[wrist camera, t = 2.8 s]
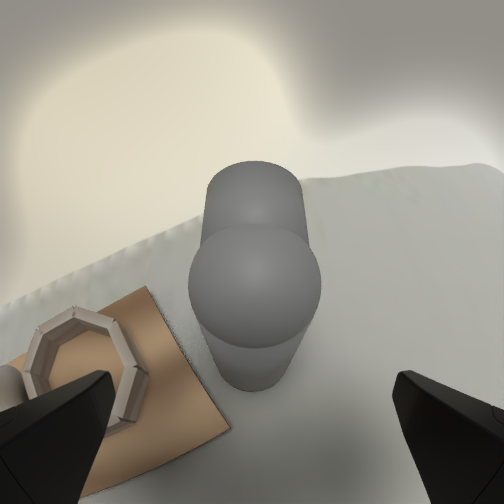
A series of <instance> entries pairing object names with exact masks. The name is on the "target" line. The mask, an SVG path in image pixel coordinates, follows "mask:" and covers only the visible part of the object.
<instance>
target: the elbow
mask: <svg viewBox="0 0 504 504" xmlns="http://www.w3.org/2000/svg"><path fill="white" fill-rule="evenodd" d="M188 290H189V297H190V301H191V305H192V308H193V311H194V313H195V316H196V318H197V321H198V323H199V325H200V328H201V330H202V333H203V335H204V337H205V340H206V342H207V344H208V347H209V349H210V351H211V354H212V356H213V358H214V360H215V363H216V365H217V367H218V369H219V371H220V374H221V375H222V377H223V378H224V379H225V380H226V381H227V382H228V383H229V384H230V385H232V386H233V387H235V388H237V389H240V390H243V391H251V392H254V391H261V390H264V389H267V388H269V387H271V386H273V385H274V384H275V383H277V382H278V381H279V380H280V378H281V377H282V376H283V374H284V372H285V371H286V369H287V367H288V365H289V363H290V361H291V359H292V358H293V356H294V354H295V352H296V350H297V348H298V346H299V344H300V342H301V340H302V338H303V336H304V334H305V332H306V330H307V328H308V326H309V324H310V322H311V320H312V318H313V316H314V314H315V312H316V309H317V307H318V303H319V300H320V295H321V275H320V270H319V266H318V263H317V260H316V258H315V256H314V254H313V252H312V250H311V249H310V247H309V240H308V231H307V224H306V216H305V208H304V201H303V194H302V188H301V185H300V183H299V181H298V180H297V178H296V177H295V176H294V175H293V174H292V173H291V172H289V171H288V170H287V169H285V168H283V167H281V166H279V165H276V164H272V163H269V162H263V161H246V162H240V163H236V164H233V165H231V166H228V167H226V168H224V169H223V170H221V171H220V172H218V173H217V174H216V175H215V176H214V177H213V178H212V180H211V181H210V183H209V185H208V188H207V194H206V202H205V209H204V217H203V226H202V234H201V243H200V248H199V250H198V251H197V253H196V255H195V257H194V259H193V262H192V265H191V268H190V272H189V281H188Z"/></svg>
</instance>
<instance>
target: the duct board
mask: <svg viewBox="0 0 504 504" xmlns="http://www.w3.org/2000/svg"><path fill="white" fill-rule="evenodd" d="M38 328H39V330H38V329H36V331H35V333H34V336H33V338H32V341H31V344H30V347H29V349H28V352H26V353H24V354H23V355H21V356H19V357H18V358H16V359H14V360H12V361H11V362H9V363H7V364H6V365H3V366H1V367H0V412H1V411H4V410H6V409H9V408H11V407H13V406H17V405H18V404H21V403H23V402H25V401H28V400H30V399H33V398H35V397H37V396H40V395H42V394H44V393H46V392H49V391H51V390H53V389H56V388H58V387H60V386H62V385H65V384H67V383H69V382H71V381H74V380H76V379H78V378H80V377H83V376H85V375H87V374H89V373H91V372H94V371H96V370H105V371H109V372H110V373H111V376H112V380H113V384H114V388H115V392H116V398H115V402H114V405H113V409H112V412H111V415H110V419H109V422H108V426H107V429H106V433H105V436H104V438H103V441H102V443H101V446H100V448H99V450H98V453H97V455H96V458H95V460H94V463H93V465H92V467H91V470H90V472H89V475H88V478H87V480H86V483H85V485H84V488H83V490H82V493H81V496H80V498H81V497H84V496H87V495H90V494H93V493H96V492H98V491H101V490H104V489H106V488H109V487H112V486H114V485H117V484H119V483H122V482H124V481H127V480H129V479H131V478H134V477H136V476H138V475H141V474H143V473H145V472H147V471H150V470H152V469H154V468H156V467H158V466H160V465H163V464H165V463H167V462H169V461H171V460H173V459H175V458H177V457H179V456H181V455H183V454H185V453H187V452H189V451H191V450H193V449H195V448H197V447H198V446H200V445H202V444H204V443H206V442H208V441H210V440H211V439H213V438H215V437H217V436H219V435H220V434H222V433H224V432H226V431H227V430H229V429H231V428H230V426H229V425H228V423H227V422H226V420H225V419H224V418H223V416H222V415H221V413H220V412H219V410H218V409H217V407H216V406H215V404H214V402H213V401H212V399H211V398H210V396H209V395H208V393H207V392H206V390H205V389H204V387H203V385H202V384H201V382H200V381H199V379H198V377H197V376H196V374H195V372H194V371H193V369H192V368H191V366H190V364H189V363H188V361H187V359H186V358H185V356H184V354H183V352H182V351H181V349H180V347H179V346H178V344H177V342H176V340H175V339H174V337H173V335H172V333H171V331H170V330H169V328H168V326H167V324H166V322H165V321H164V319H163V317H162V315H161V313H160V311H159V310H158V308H157V306H156V304H155V302H154V300H153V298H152V296H151V294H150V292H149V291H148V289H147V287H146V286H144V287H142V288H140V289H138V290H136V291H134V292H133V293H131V294H129V295H127V296H125V297H124V298H122V299H120V300H118V301H116V302H114V303H113V304H111V305H109V306H107V307H105V308H104V309H102V310H100V311H98V312H97V313H95V312H92V311H89V310H86V309H83V308H80V307H77V306H75V308H74V307H73V306H72V307H71V308H69V309H67V310H66V311H64V312H62V313H60V314H59V315H57V316H55V317H53V318H52V319H50V320H48V321H47V322H45V323H43V324H41V325H40V326H38Z"/></svg>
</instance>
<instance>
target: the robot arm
mask: <svg viewBox="0 0 504 504" xmlns="http://www.w3.org/2000/svg"><path fill="white" fill-rule="evenodd" d="M115 398H116V392H115V388H114V384H113V380H112V376H111V373H110V372H109V371H105V370H96V371H94V372H91V373H89V374H87V375H85V376H83V377H80V378H78V379H76V380H74V381H71V382H69V383H67V384H65V385H62V386H60V387H58V388H56V389H53V390H51V391H49V392H46V393H44V394H42V395H40V396H37V397H35V398H33V399H30V400H28V401H25V402H23V403H21V404H18V405H17V406H13V407H11V408H9V409H6V410H4V411H1V412H0V504H78V501H79V498H80V496H81V493H82V490H83V488H84V485H85V483H86V480H87V478H88V475H89V472H90V470H91V467H92V465H93V463H94V460H95V458H96V455H97V453H98V450H99V448H100V446H101V443H102V441H103V438H104V436H105V433H106V429H107V426H108V422H109V419H110V415H111V412H112V409H113V405H114V402H115ZM392 398H393V402H394V405H395V408H396V412H397V415H398V418H399V422H400V425H401V429H402V432H403V435H404V437H405V440H406V442H407V445H408V447H409V449H410V452H411V454H412V456H413V459H414V461H415V464H416V466H417V469H418V471H419V474H420V476H421V479H422V481H423V484H424V486H425V489H426V491H427V494H428V497H429V499H430V502H431V504H504V410H503V409H500V408H498V407H495V406H491V405H490V404H488V403H486V402H483V401H481V400H478V399H476V398H474V397H471V396H469V395H466V394H464V393H462V392H459V391H457V390H455V389H452V388H450V387H448V386H445V385H443V384H441V383H438V382H436V381H434V380H432V379H429V378H427V377H425V376H423V375H420V374H418V373H416V372H414V371H411V370H407V371H401V372H399V373H398V375H397V377H396V381H395V385H394V389H393V393H392Z"/></svg>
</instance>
